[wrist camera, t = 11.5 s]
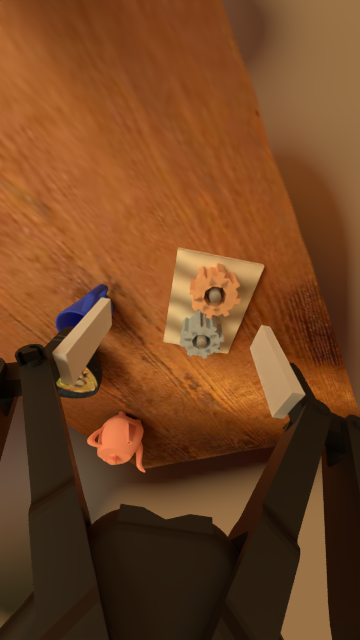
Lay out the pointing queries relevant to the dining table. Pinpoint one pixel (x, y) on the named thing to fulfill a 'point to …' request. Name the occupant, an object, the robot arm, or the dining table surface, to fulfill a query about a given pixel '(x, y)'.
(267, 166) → the dining table surface
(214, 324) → the gear
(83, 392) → the bowl
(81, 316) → the mug
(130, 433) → the teapot
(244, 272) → the board
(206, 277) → the gear
